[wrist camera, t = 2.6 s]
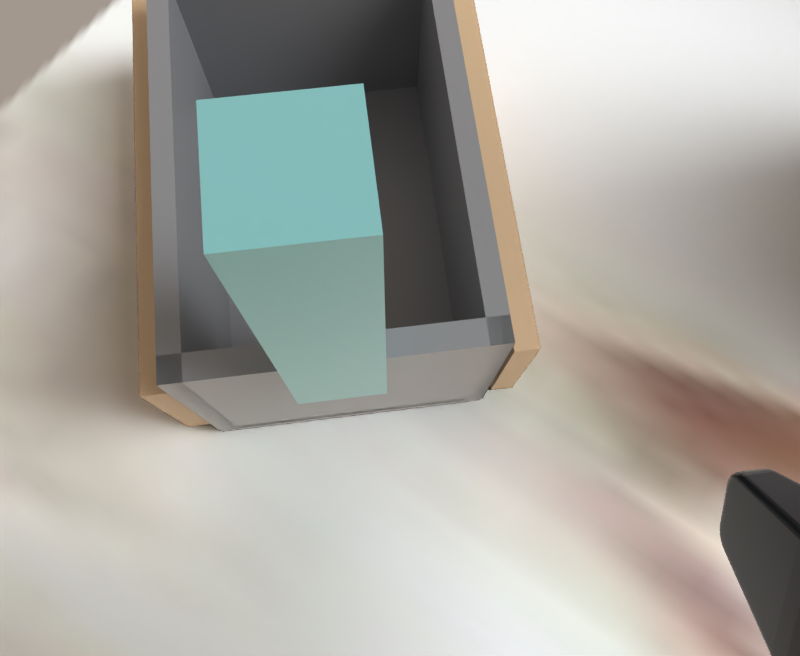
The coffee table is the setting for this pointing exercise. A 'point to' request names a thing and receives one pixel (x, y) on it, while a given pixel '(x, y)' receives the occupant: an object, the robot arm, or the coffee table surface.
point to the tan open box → (496, 186)
